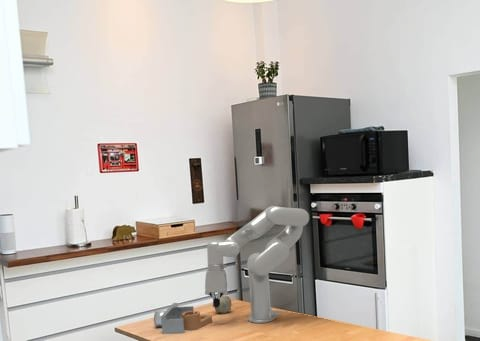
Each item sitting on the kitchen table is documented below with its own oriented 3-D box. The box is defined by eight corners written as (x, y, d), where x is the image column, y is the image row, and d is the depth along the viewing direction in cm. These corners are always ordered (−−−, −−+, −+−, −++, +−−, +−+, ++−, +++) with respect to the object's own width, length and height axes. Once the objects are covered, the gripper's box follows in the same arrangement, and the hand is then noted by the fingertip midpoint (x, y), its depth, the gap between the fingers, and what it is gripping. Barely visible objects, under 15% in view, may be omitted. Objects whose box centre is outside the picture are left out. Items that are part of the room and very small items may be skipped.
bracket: (194, 331, 217) (193, 316, 218) (179, 330, 222) (178, 314, 222) (215, 320, 233) (214, 306, 233) (201, 319, 237) (200, 305, 238)
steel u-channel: (194, 318, 239) (193, 302, 240) (183, 332, 216) (182, 314, 216) (162, 319, 241) (161, 303, 241) (149, 334, 217) (148, 316, 217)
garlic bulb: (231, 316, 249) (236, 297, 249) (223, 317, 241) (229, 298, 242) (216, 309, 253) (221, 291, 253) (208, 310, 245) (214, 291, 246)
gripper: (232, 266, 230) (233, 305, 229) (201, 266, 232) (202, 305, 231) (230, 268, 223) (231, 308, 222) (198, 269, 224) (199, 309, 223)
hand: (216, 306), depth 226 cm, fingers closed
